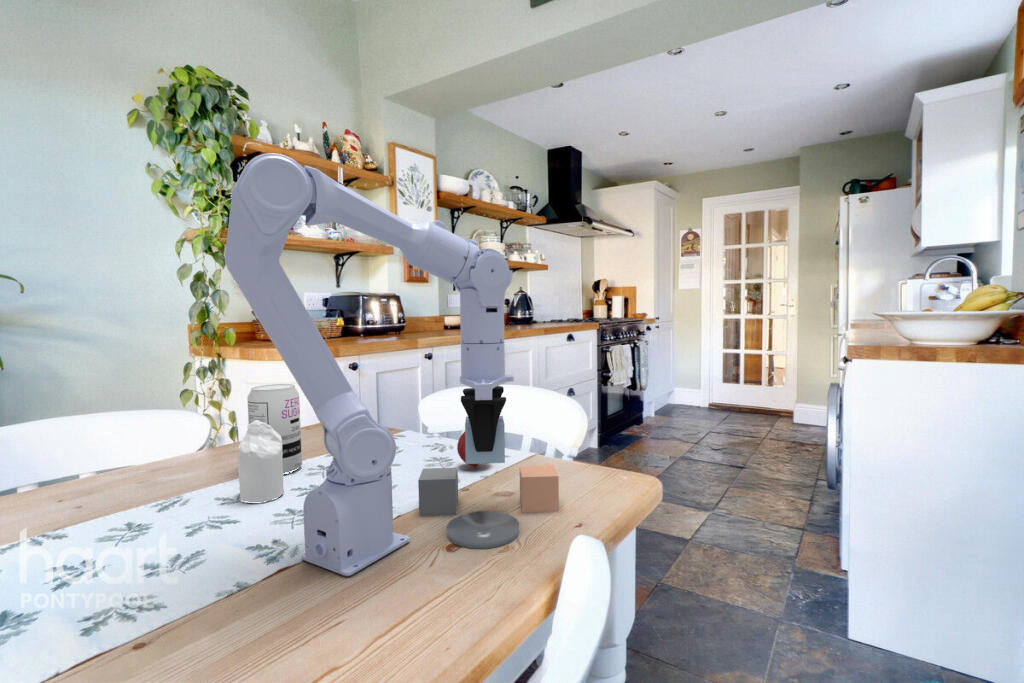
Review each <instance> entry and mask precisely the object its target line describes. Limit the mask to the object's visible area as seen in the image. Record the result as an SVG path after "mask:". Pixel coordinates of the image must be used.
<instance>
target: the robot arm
mask: <svg viewBox="0 0 1024 683" xmlns="http://www.w3.org/2000/svg"><path fill="white" fill-rule="evenodd" d="M229 210H230V211H229V218H228V219H229V220H228V226H227V236H226V242H225V243H226V244H225V252H224V260H225V261H224V263H225V265H226V268H227V271H228V272H229V273H230V275H231V277H232V278H233V280H234V282H235V283H236V285H237V287H238V288H239V290H240V292H241V293H242V295H243V296H244V298H245V300H246V301H247V302H248V305H249V307H250V308H251V309H252V311H253V312H254V314H255V316H256V317H257V319H258V321H259V323H260V324H261V326H262V327H263V330H265V331H264V332H265V333H266V334H267V336H268V338H269V339H270V341H271V342H272V344H273V346H274V347H275V348H276V350H277V352H278V354H279V355H280V357H281V359H282V360H283V362H284V364H285V365H286V367H287V368H288V370H289V372H290V373H291V375H292V376H293V378H294V380H295V381H296V383H297V385H298V386H299V388H300V389H301V391H302V393H303V394H304V397H306V400H307V401H308V403H309V404H310V407H311V408H312V410H313V412H314V414H315V415H316V416H315V417H316V418H317V419H318V421H319V423H320V425H321V427H322V430H323V443H324V446H325V448H326V449H325V450H327V453H328V454H330V455H331V456H332V457H333V460H331V462H330V464H329V466H328V469H326V478H325V479H324V481H323V482H322V483H321V484H320V485H319V486H317V487H316V488H314V489H312V490H310V492H308V493H307V495H306V496H305V499H304V502H303V530H304V552H303V553H301V555H300V559H301V560H303V561H305V562H308V563H310V564H313V565H316V566H319V567H322V568H324V569H326V570H329V571H331V572H334V573H336V574H340V575H342V576H344V577H351V576H352V575H354V574H355V573H357V572H359V571H361V570H363V569H365V568H366V567H368V566H369V565H371V564H373V563H375V562H376V561H378V560H379V559H381V558H384V557H385V556H387V555H388V554H390V553H392V552H393V551H396V550H397V549H398V548H400V547H402V546H403V545H405V544H407V543H409V542H410V536H407V535H405V534H401V533H398V532H394V510H393V508H394V507H393V483H392V482H393V480H392V479H393V477H392V464H393V462H394V460H395V458H396V452H397V445H396V444H397V443H396V440H395V437H394V435H393V433H392V432H391V431H390V430H389V429H388V428H387V427H385V426H383V425H382V424H380V423H379V422H377V421H376V420H375V419H374V418H373V417H372V415H371V414H370V411H369V410H368V408H367V407H366V405H365V404H364V403H363V402H362V400H361V399H360V398H359V396H358V395H357V394H356V393H355V391H354V389H353V388H352V386H351V384H350V383H349V381H348V379H347V377H346V376H345V374H344V372H343V370H342V369H341V367H340V365H339V364H338V362H337V360H336V358H335V357H334V355H333V353H332V352H331V349H330V348H329V346H328V345H327V343H326V341H325V339H324V337H323V335H322V334H321V333H320V331H319V329H318V328H317V325H316V324H315V322H314V320H313V319H312V317H311V314H309V312H308V310H307V308H306V306H305V305H304V303H303V301H302V299H301V298H300V296H299V295H298V293H297V291H296V289H295V287H294V286H293V284H292V282H291V281H290V279H289V277H288V275H287V274H286V271H285V270H284V268H283V267H282V265H281V263H280V258H281V256H282V253H283V250H284V248H285V244H286V243H287V239H288V237H289V232H290V231H291V230H292V229H293V227H294V226H295V225H296V223H298V221H299V220H300V218H301V216H304V217H305V221H304V222H305V223H304V225H305V226H315V225H324V224H329V223H330V224H331V223H336V224H339V225H341V226H343V227H347V228H349V229H351V230H354V231H356V232H358V233H361V234H364V235H366V236H368V237H371V238H373V239H375V240H377V241H380V242H383V243H385V244H386V245H387V244H388V245H389V246H393V247H395V248H397V249H399V250H400V251H401V253H402V255H403V258H404V260H405V262H406V263H407V264H408V265H410V266H412V267H414V268H416V269H418V270H420V271H423V272H426V273H428V274H430V275H432V276H435V277H436V278H438V279H441V280H443V281H445V282H447V283H449V284H453V286H454V288H455V289H456V291H458V292H459V301H460V302H459V304H460V305H459V306H460V307H459V311H460V312H459V313H460V314H459V316H460V320H459V321H460V325H459V326H460V373H461V376H460V377H459V383H460V384H461V385H464V386H466V387H468V388H463V389H462V394H463V395H461V396H460V403H461V405H462V406H463V409H464V411H465V413H466V414H467V417H468V418H469V421H470V425H471V430H472V436H473V441H474V446H475V449H476V452H492V451H493V447H494V443H495V437H496V430H497V424H498V420H499V417H500V416H501V413H502V411H503V408H504V407H505V405H506V401H507V397H505V396H502V395H503V394H504V392H505V391H504V390H505V389H504V386H502V385H503V384H505V383H508V382H510V383H511V382H512V383H513V382H514V381H515V376H514V375H513V374H505V373H506V372H505V371H506V369H505V368H506V367H505V366H506V365H505V363H506V360H505V358H506V356H505V354H506V352H505V301H506V300H505V296H506V291H507V289H508V287H509V286H510V284H511V283H512V281H513V274H514V273H513V270H512V269H510V267H509V263H508V260H507V259H506V258H505V256H504V255H503V253H501V252H499V251H498V250H496V249H493V248H483V249H480V247H479V246H478V241H476V240H474V239H470V238H469V239H468V240H467V239H466V238H463V237H461V236H459V235H457V234H455V233H453V232H451V231H450V230H447V229H445V227H446V223H444V222H442V221H441V220H439V219H436V220H434V221H429V220H421V221H418V222H417V223H414V224H413V223H411V222H409V221H407V220H406V219H404V218H403V217H400V216H399V215H396V214H395V213H394V212H391V211H389V210H388V209H386V208H384V207H382V206H381V205H379V204H378V203H376V202H373V201H371V200H370V199H368V198H366V197H365V196H362V195H361V194H359V193H357V192H355V191H354V190H352V189H350V188H349V187H347V186H345V185H343V184H341V183H339V182H337V180H334V179H333V178H331V177H330V176H328V175H327V174H325V173H324V172H322V171H321V170H319V169H318V168H314V167H311V166H309V165H306V164H305V165H304V167H303V166H302V165H301V164H300V163H298V162H297V161H296V160H295V159H293V158H291V157H289V156H287V155H284V154H281V153H274V152H273V153H271V152H270V153H263V154H260V155H257V156H255V157H254V158H252V159H250V161H248V163H246V165H245V166H244V168H243V170H242V171H241V173H240V175H239V177H238V179H237V181H236V182H235V185H234V186H233V188H232V190H231V200H230V209H229Z"/></svg>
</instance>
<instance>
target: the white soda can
mask: <svg viewBox="0 0 1024 683" xmlns="http://www.w3.org/2000/svg"><path fill="white" fill-rule="evenodd" d="M246 399H247V412H248V413H247V416H248V418H247V419H248V425H249V424H250V423H252V422H253V421H256V420H258V421H260V422H263V423H266V424H267V425H270V426H271V427H272V428H273V429H274V431H276V432H277V433H278V434H279V435H280V436H281V439H282V453H283V455H282V465H283V473H285V472H289V471H292V470H295V469H297V468H299V469H300V467H301V466H302V465H303V450H302V433H301V431H302V428H301V409H300V408H301V406H300V393H299V391H298V390H297V388H296V386H295V384H292V383H275V384H265V385H263V384H262V385H257V386H253V387H251V389H250V392H249V393H248V396H247V398H246Z"/></svg>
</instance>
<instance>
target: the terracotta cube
mask: <svg viewBox="0 0 1024 683" xmlns="http://www.w3.org/2000/svg"><path fill="white" fill-rule="evenodd" d="M559 498H560V496H559V474H558V472H557V469H556V467H555V465H554V464H544V465H542V464H540V465H538V464H537V465H519V499H520V505H521V511H522V513H548V512H549V513H551V512H554V511H555V512H559V510H560V505H559V504H560V503H559V502H560V501H559V500H560V499H559Z"/></svg>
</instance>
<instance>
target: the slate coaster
mask: <svg viewBox="0 0 1024 683" xmlns="http://www.w3.org/2000/svg"><path fill="white" fill-rule="evenodd" d="M519 535H520V522H519V520H518V519H517V518H516V517H515V516H513V515H510V514H508V513H506V512H501V511H496V510H495V511H494V510H479V511H471V512H467V513H463V514H460V515H458V516H456V517H454V518H452V519H451V520H449V522H448V524H447V526H446V536H447V539H448V540H449V541H450V542H451V543H453V544H454V545H457V546H459V547H462V548H468V549H476V550H486V549H493V548H498V547H503V546H505V545H507V544H510V543H512V542H513V541H514V540H515V539H517V538H518V537H519Z"/></svg>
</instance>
